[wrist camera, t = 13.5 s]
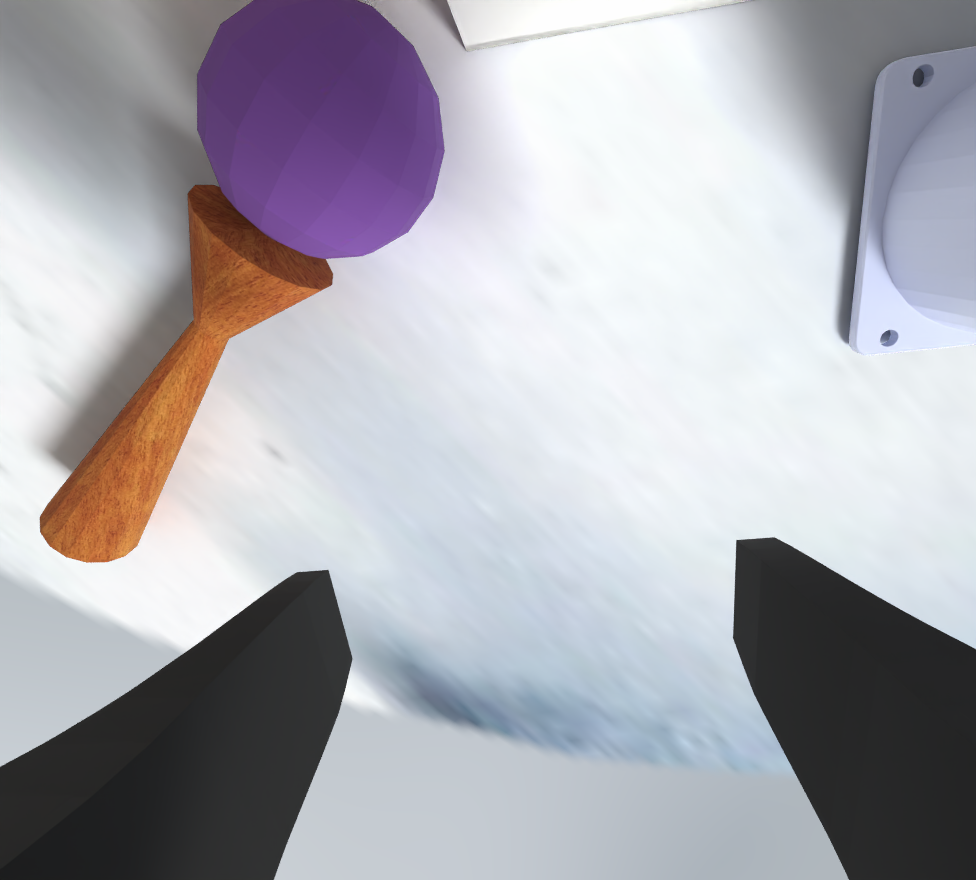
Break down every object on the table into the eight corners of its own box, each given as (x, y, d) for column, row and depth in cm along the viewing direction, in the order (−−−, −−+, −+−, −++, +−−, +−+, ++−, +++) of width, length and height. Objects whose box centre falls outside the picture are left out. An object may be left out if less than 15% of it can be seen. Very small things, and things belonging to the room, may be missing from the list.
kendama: (-55, 502, 18) (210, -150, 10) (107, 448, 24) (363, -4, 16) (74, 626, 18) (439, 74, 10) (207, 543, 24) (512, 141, 16)
